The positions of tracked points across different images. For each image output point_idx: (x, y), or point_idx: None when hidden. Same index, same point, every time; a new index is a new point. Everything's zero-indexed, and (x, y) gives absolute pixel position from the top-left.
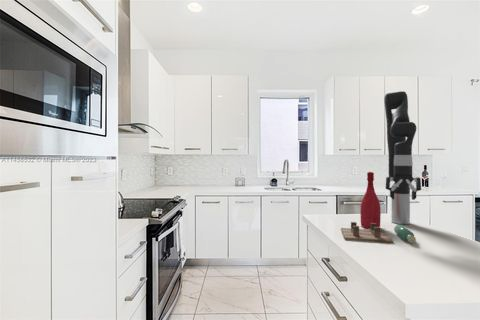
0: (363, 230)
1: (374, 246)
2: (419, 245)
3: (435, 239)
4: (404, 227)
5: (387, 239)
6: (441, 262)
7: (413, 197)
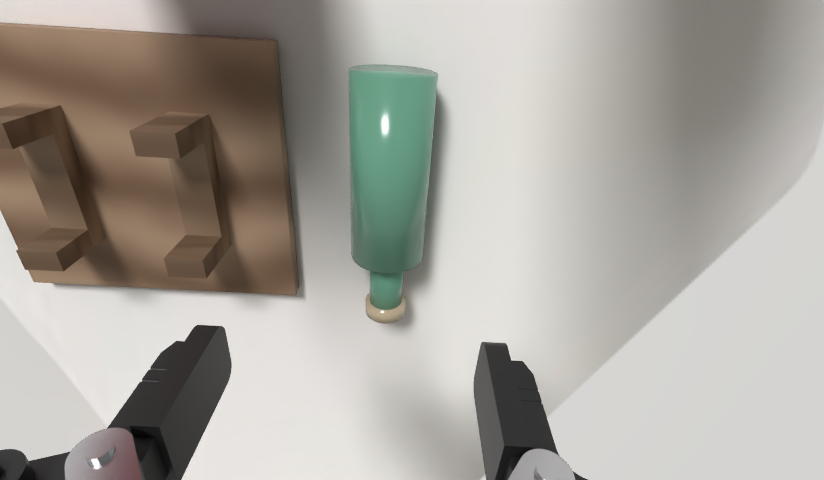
0: (113, 80)
1: None
2: (424, 290)
3: (590, 154)
4: (395, 184)
5: (267, 279)
6: (414, 446)
7: (479, 415)
